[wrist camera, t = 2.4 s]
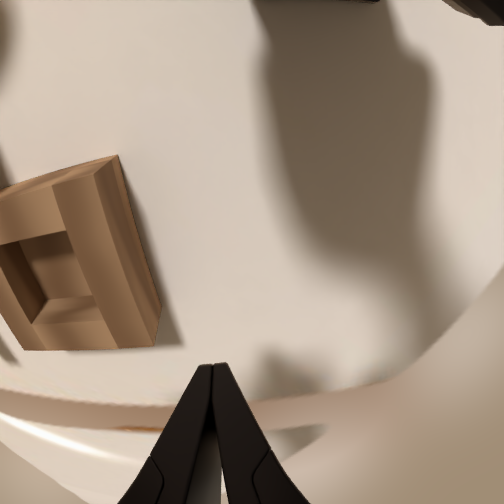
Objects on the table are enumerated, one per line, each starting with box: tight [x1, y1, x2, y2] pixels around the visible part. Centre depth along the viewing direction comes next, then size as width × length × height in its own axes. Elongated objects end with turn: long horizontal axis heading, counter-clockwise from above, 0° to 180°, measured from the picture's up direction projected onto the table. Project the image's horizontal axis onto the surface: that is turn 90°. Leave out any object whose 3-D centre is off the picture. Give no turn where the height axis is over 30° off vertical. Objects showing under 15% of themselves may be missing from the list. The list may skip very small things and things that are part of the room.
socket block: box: [0, 155, 162, 351], centre depth 16 cm, size 10×10×4 cm
